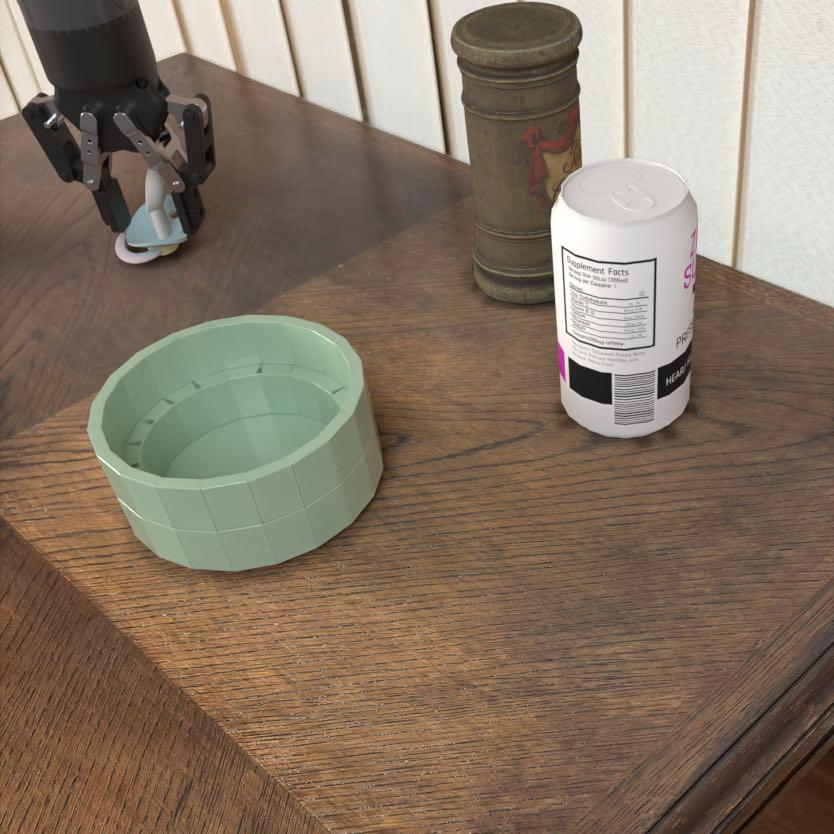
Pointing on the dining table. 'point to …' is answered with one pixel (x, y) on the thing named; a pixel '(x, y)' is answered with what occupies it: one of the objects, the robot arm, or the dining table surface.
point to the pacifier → (152, 225)
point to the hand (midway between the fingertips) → (157, 227)
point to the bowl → (239, 441)
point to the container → (518, 138)
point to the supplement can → (624, 294)
